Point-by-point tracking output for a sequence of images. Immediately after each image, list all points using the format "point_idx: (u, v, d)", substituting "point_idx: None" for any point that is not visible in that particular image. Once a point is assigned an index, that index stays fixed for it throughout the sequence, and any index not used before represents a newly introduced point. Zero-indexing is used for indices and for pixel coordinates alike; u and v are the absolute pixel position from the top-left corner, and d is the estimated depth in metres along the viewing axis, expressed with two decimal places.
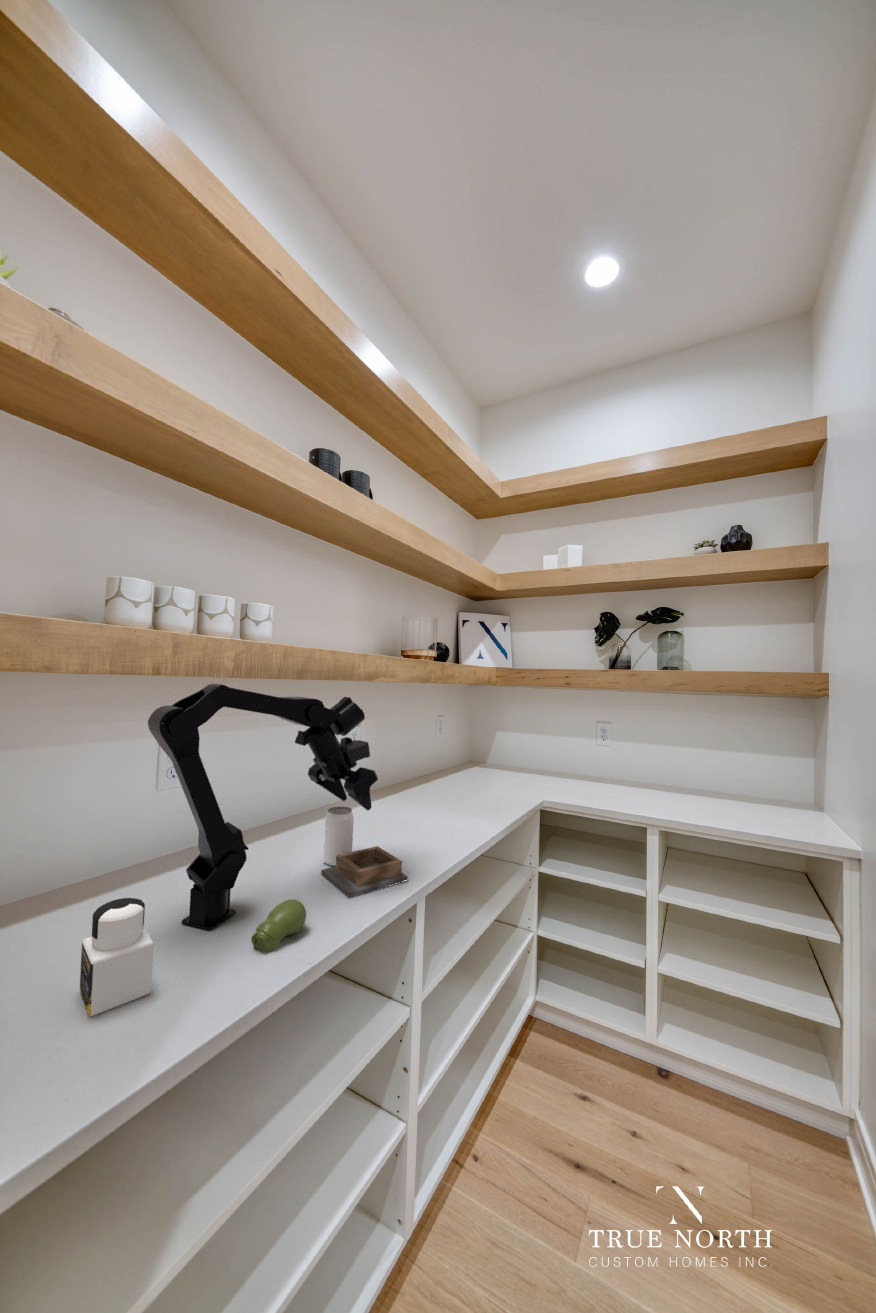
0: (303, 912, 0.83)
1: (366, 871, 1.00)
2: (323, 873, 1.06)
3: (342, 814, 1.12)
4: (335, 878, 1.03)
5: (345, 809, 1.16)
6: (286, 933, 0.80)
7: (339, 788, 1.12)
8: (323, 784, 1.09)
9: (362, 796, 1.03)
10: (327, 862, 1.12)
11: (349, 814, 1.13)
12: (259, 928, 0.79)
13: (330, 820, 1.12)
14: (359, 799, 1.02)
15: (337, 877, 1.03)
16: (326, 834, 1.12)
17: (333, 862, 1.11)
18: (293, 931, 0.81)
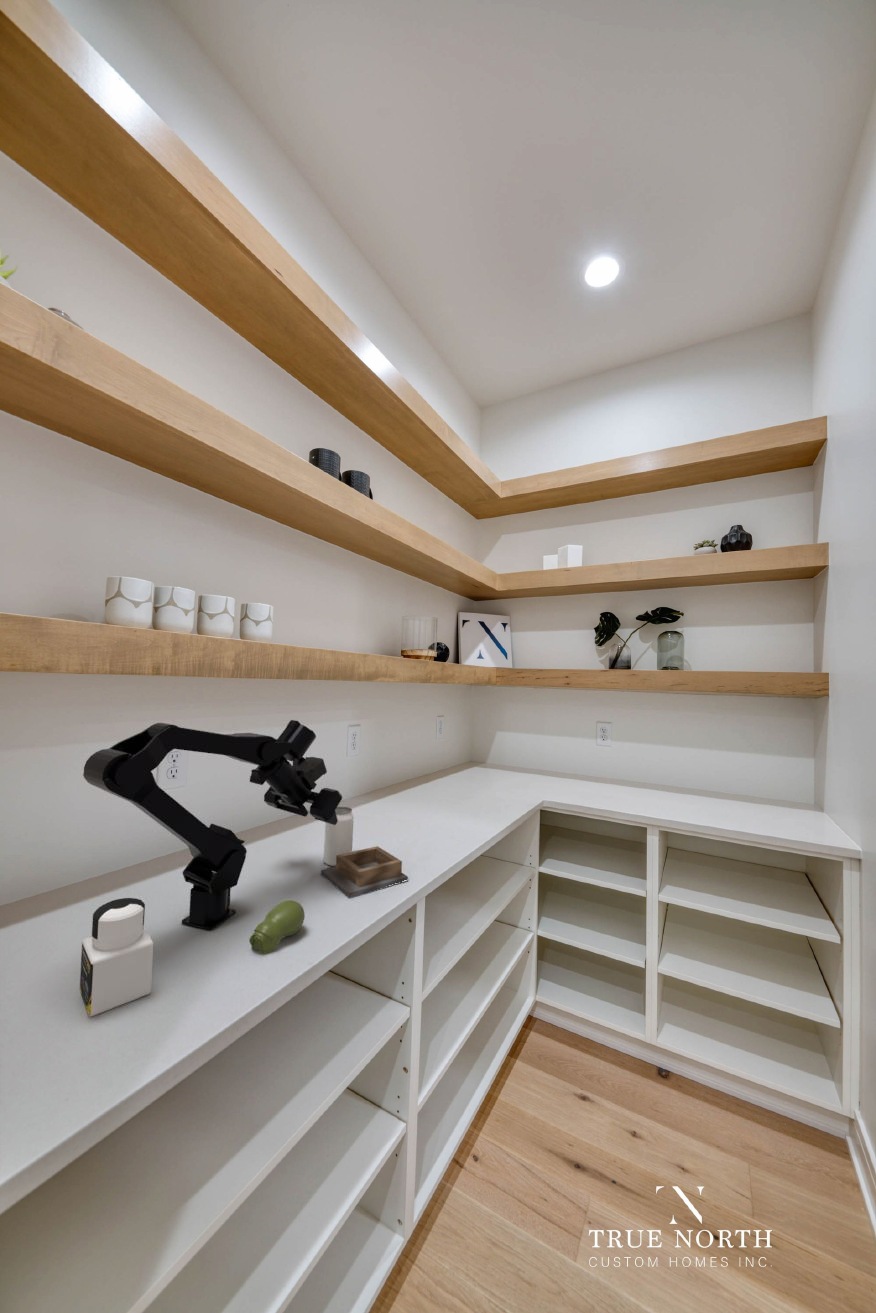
0: (301, 913, 0.83)
1: (366, 871, 1.00)
2: (323, 873, 1.06)
3: (342, 814, 1.12)
4: (335, 878, 1.03)
5: (345, 809, 1.16)
6: (285, 934, 0.80)
7: None
8: (283, 807, 1.07)
9: None
10: (327, 862, 1.12)
11: (349, 814, 1.13)
12: (257, 929, 0.78)
13: None
14: None
15: (337, 877, 1.03)
16: (326, 834, 1.12)
17: (333, 862, 1.11)
18: (291, 932, 0.81)
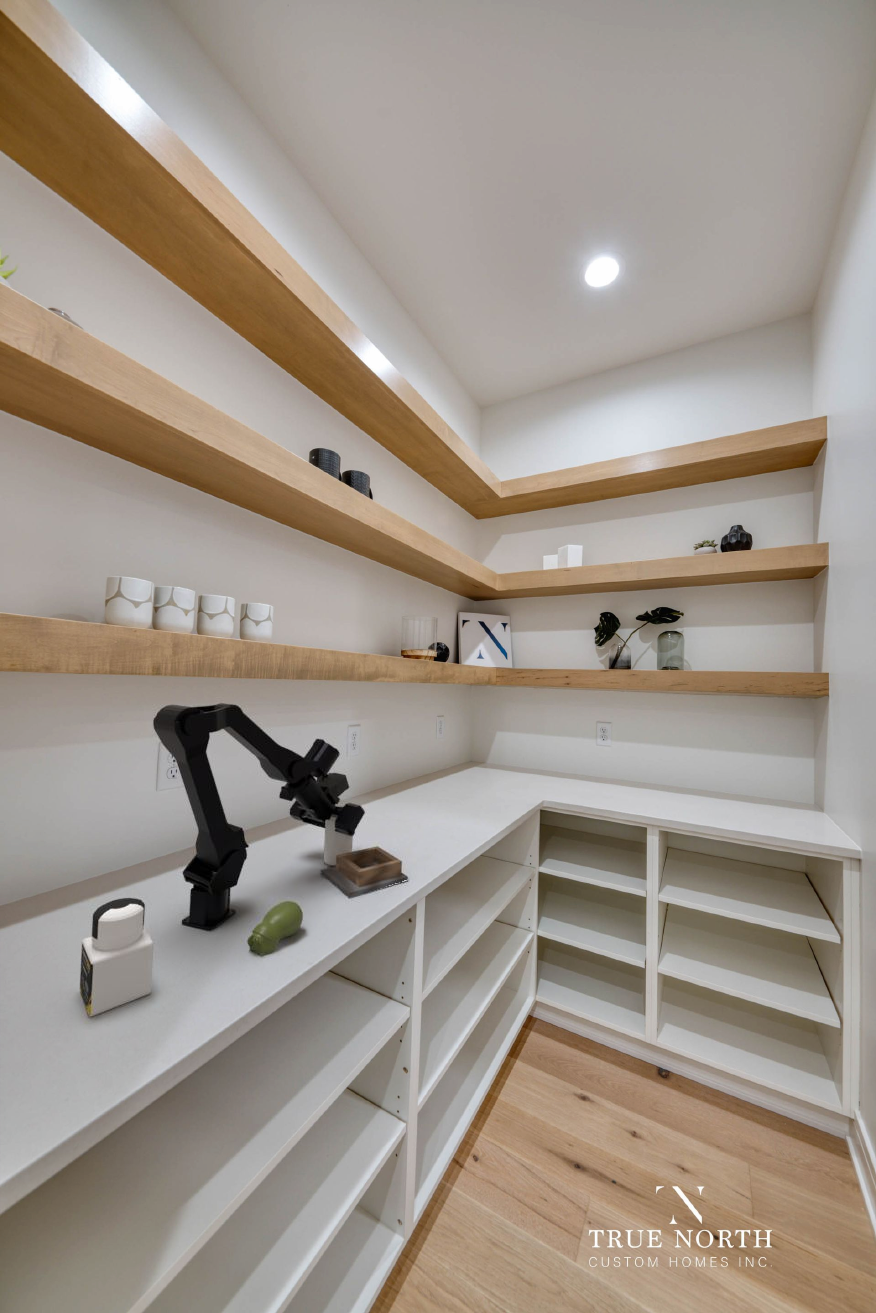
0: (300, 914, 0.83)
1: (366, 871, 1.00)
2: (323, 873, 1.06)
3: None
4: (335, 878, 1.03)
5: None
6: (283, 935, 0.80)
7: None
8: (311, 822, 1.12)
9: None
10: (327, 862, 1.12)
11: None
12: (255, 930, 0.78)
13: (330, 820, 1.12)
14: None
15: (337, 877, 1.03)
16: (326, 834, 1.12)
17: (333, 862, 1.11)
18: (290, 933, 0.81)
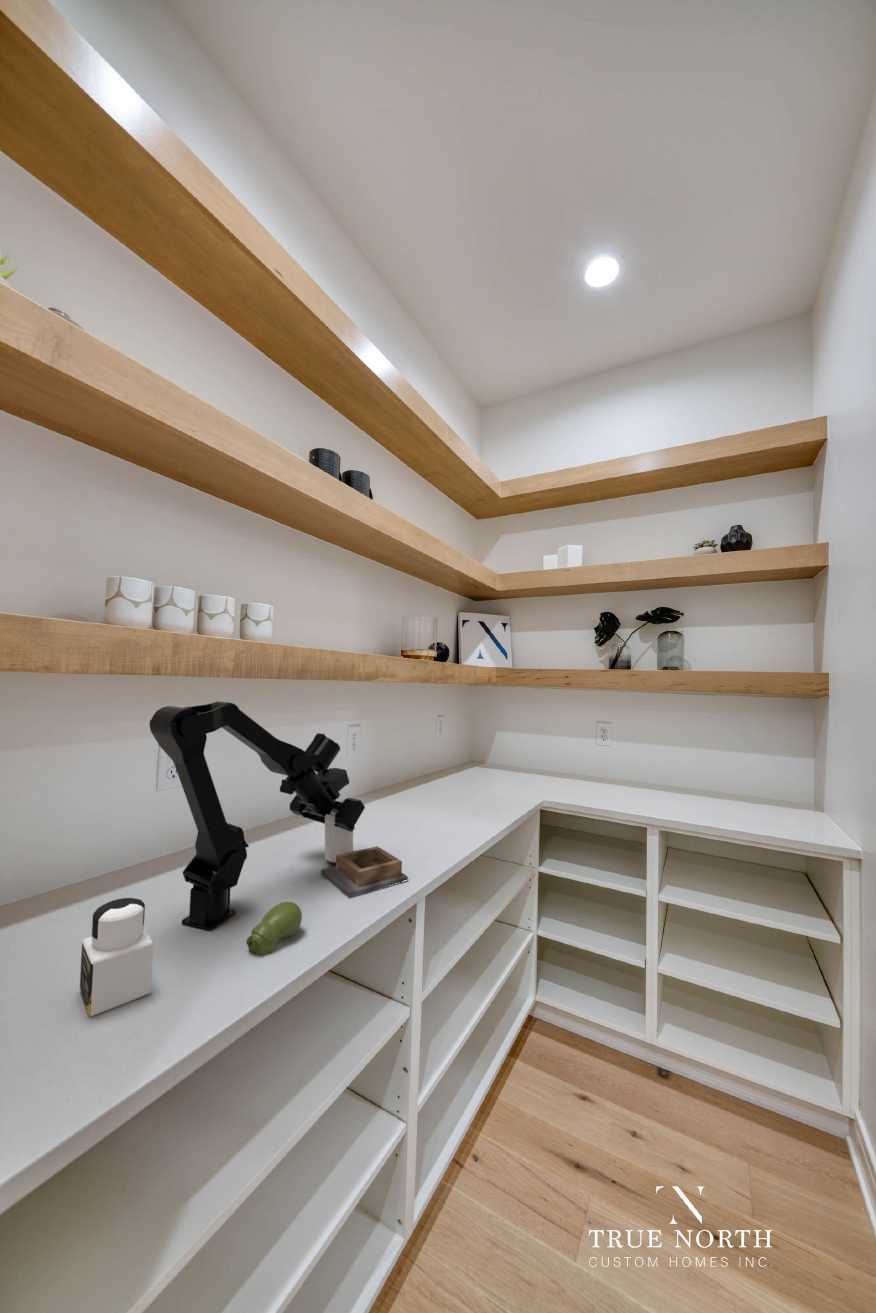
0: (299, 914, 0.83)
1: (366, 871, 1.00)
2: (323, 873, 1.06)
3: None
4: (335, 878, 1.03)
5: None
6: (282, 936, 0.80)
7: None
8: (311, 817, 1.12)
9: None
10: (328, 859, 1.11)
11: None
12: (254, 931, 0.78)
13: (330, 816, 1.12)
14: None
15: (337, 877, 1.03)
16: (326, 831, 1.12)
17: (334, 859, 1.11)
18: (289, 933, 0.81)
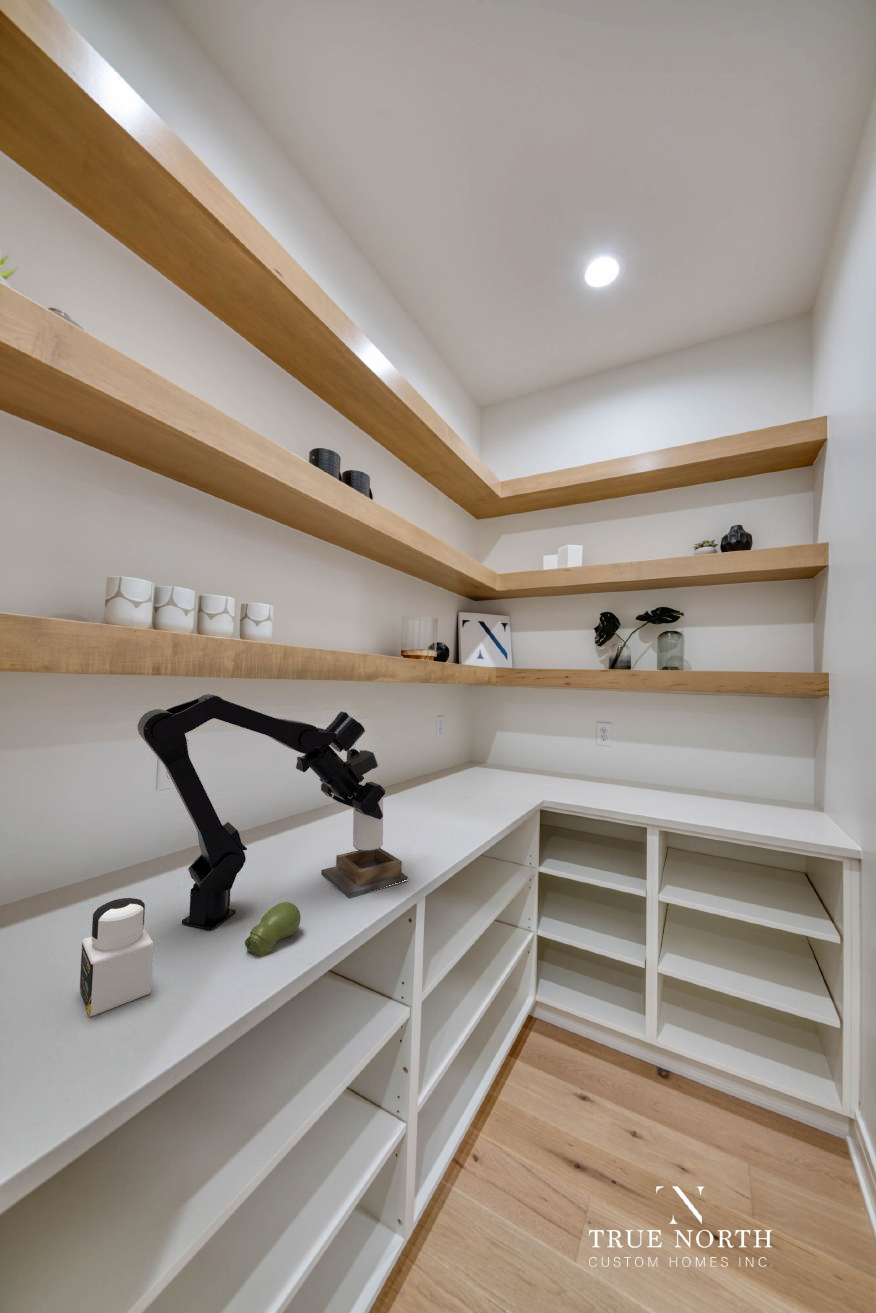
0: (297, 915, 0.82)
1: (366, 871, 1.00)
2: (323, 873, 1.06)
3: None
4: (335, 878, 1.03)
5: None
6: (280, 937, 0.79)
7: None
8: (340, 800, 1.07)
9: None
10: (354, 846, 1.05)
11: None
12: (253, 931, 0.78)
13: None
14: None
15: (337, 877, 1.03)
16: (353, 816, 1.06)
17: (359, 846, 1.04)
18: (287, 934, 0.80)
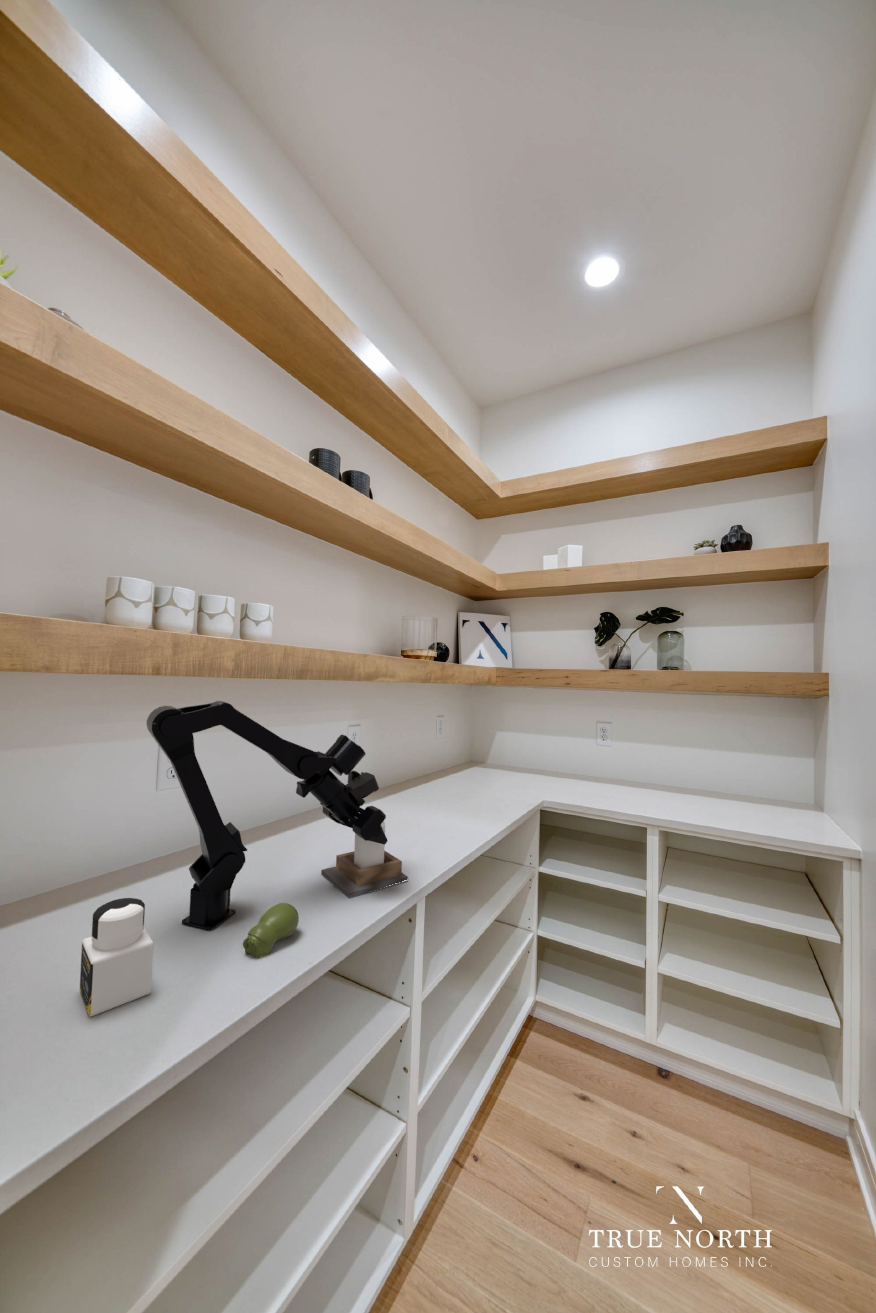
0: (295, 916, 0.82)
1: (366, 871, 1.00)
2: (323, 873, 1.06)
3: None
4: (335, 878, 1.03)
5: None
6: (279, 938, 0.79)
7: None
8: (339, 821, 1.08)
9: (374, 834, 1.01)
10: None
11: None
12: (251, 933, 0.77)
13: None
14: (371, 838, 1.00)
15: (337, 877, 1.03)
16: (355, 842, 1.05)
17: None
18: (285, 935, 0.80)
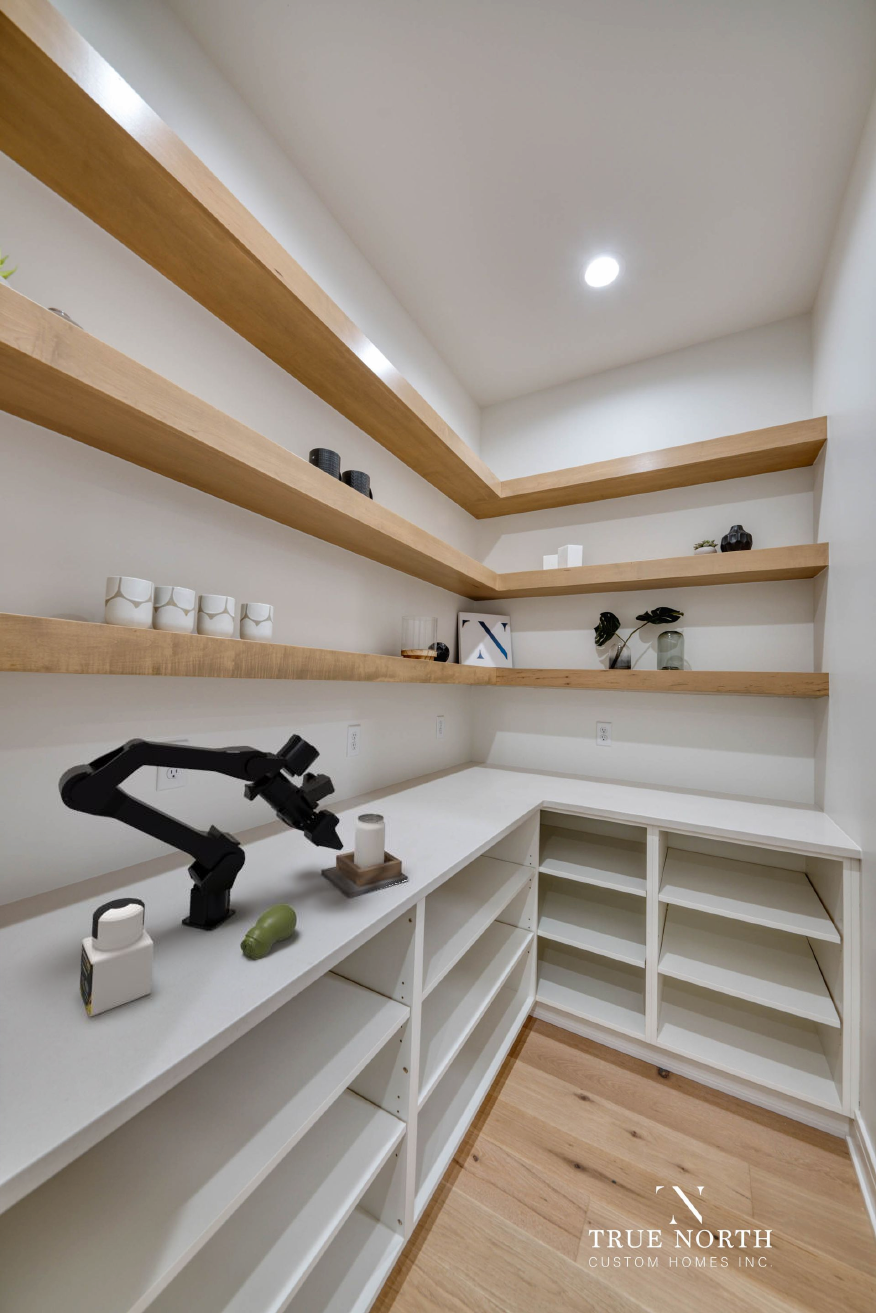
0: (293, 917, 0.82)
1: (366, 871, 1.00)
2: (323, 873, 1.06)
3: (369, 822, 1.04)
4: (335, 878, 1.03)
5: (378, 817, 1.08)
6: (276, 939, 0.79)
7: None
8: (292, 825, 1.02)
9: (328, 839, 0.95)
10: None
11: (378, 823, 1.04)
12: (248, 934, 0.77)
13: (358, 827, 1.04)
14: (325, 844, 0.95)
15: (337, 877, 1.03)
16: (355, 842, 1.05)
17: None
18: (283, 937, 0.80)
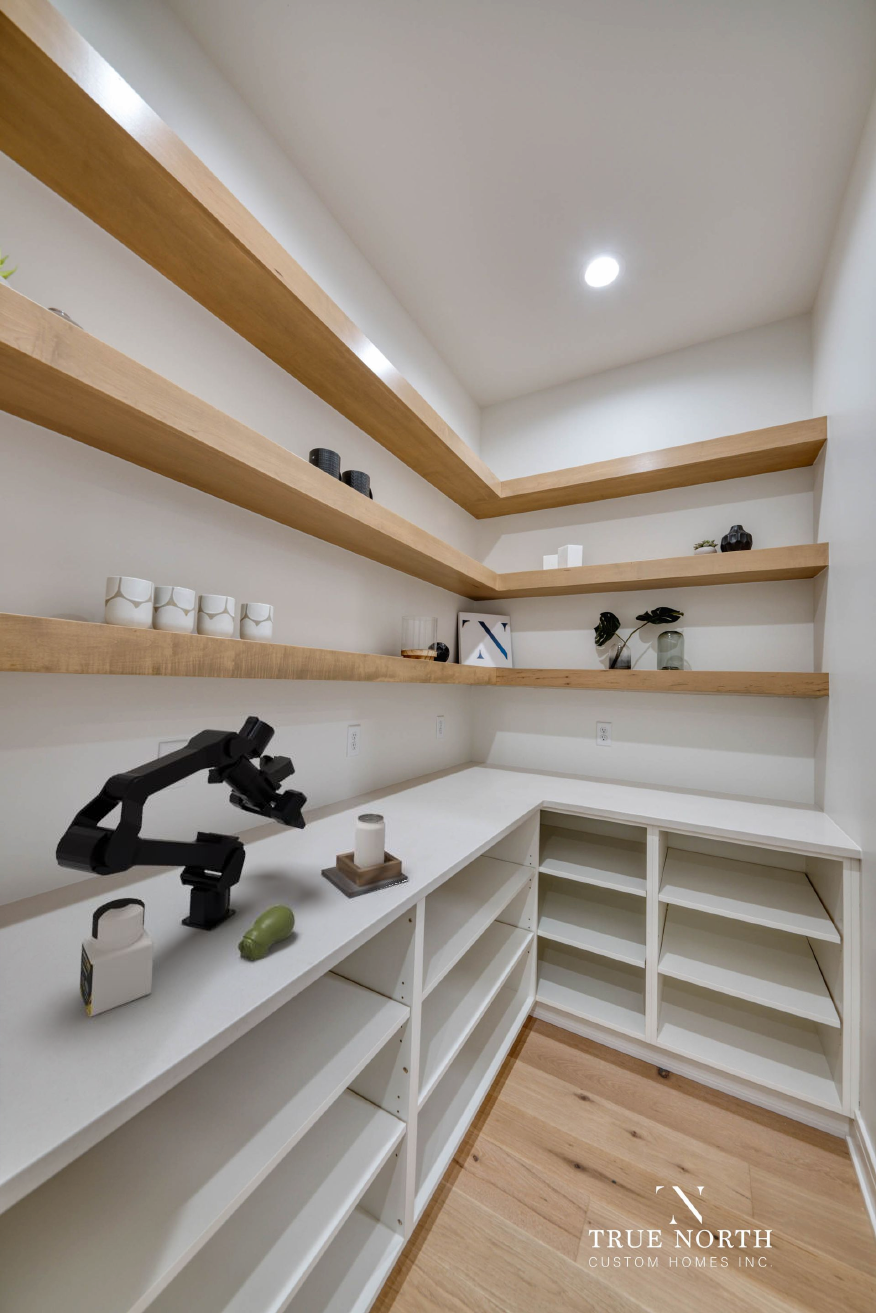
0: (292, 918, 0.81)
1: (366, 871, 1.00)
2: (323, 873, 1.06)
3: (369, 822, 1.04)
4: (335, 878, 1.03)
5: (378, 817, 1.08)
6: (274, 940, 0.78)
7: (267, 808, 1.04)
8: (248, 809, 1.00)
9: (293, 818, 0.96)
10: None
11: (378, 823, 1.04)
12: (246, 935, 0.77)
13: (358, 827, 1.04)
14: (290, 823, 0.95)
15: (337, 877, 1.03)
16: (355, 842, 1.05)
17: None
18: (281, 938, 0.79)
